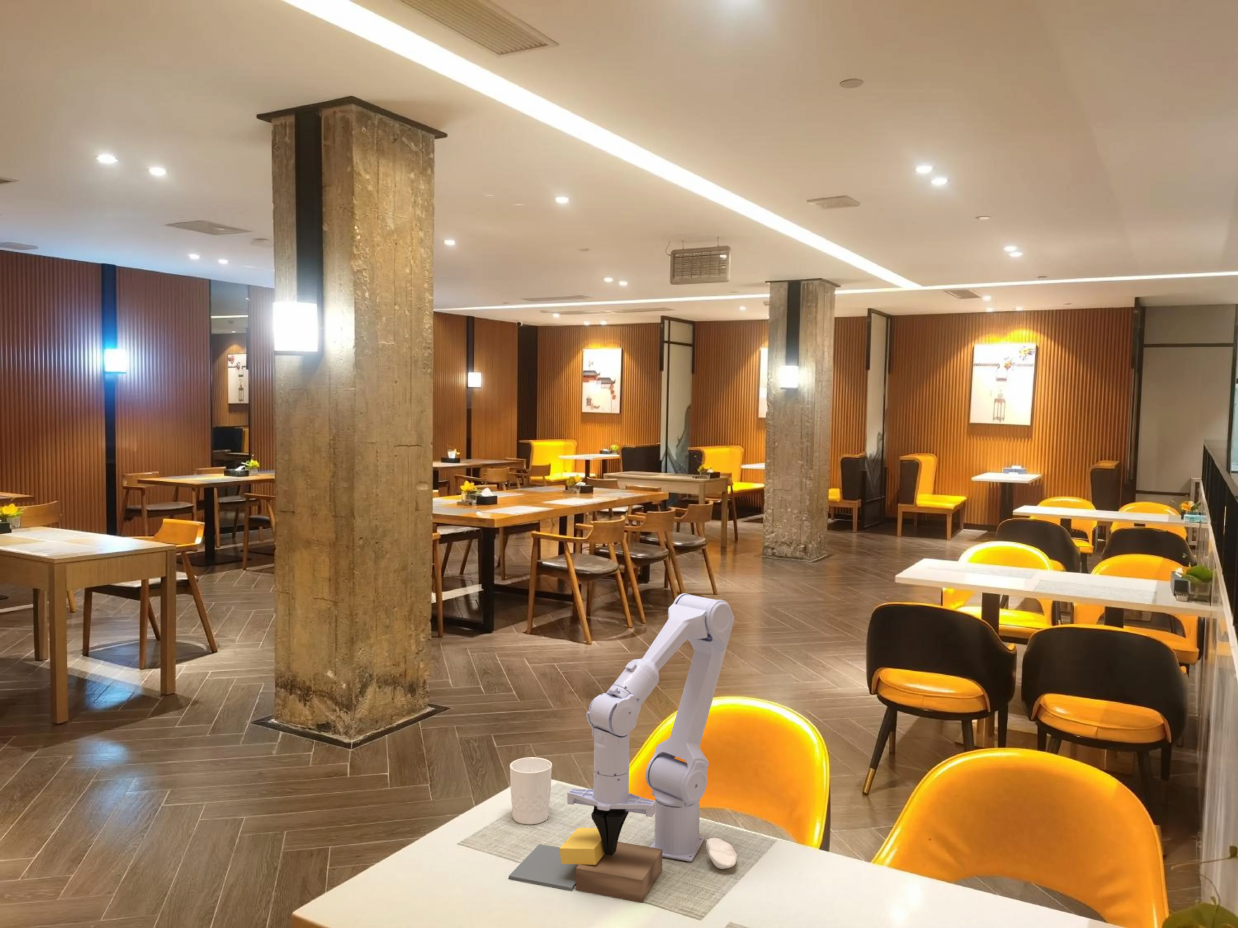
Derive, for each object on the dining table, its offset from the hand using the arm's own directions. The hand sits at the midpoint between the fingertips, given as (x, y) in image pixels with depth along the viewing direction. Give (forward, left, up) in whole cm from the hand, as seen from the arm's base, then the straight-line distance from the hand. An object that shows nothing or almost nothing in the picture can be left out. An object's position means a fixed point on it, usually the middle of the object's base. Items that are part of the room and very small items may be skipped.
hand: (610, 852), depth 145 cm
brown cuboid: (0, +2, -4) cm, 5 cm away
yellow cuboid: (0, -4, 0) cm, 4 cm away
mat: (0, -10, -4) cm, 11 cm away
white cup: (-17, -22, -4) cm, 28 cm away
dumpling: (-11, +16, -4) cm, 20 cm away
